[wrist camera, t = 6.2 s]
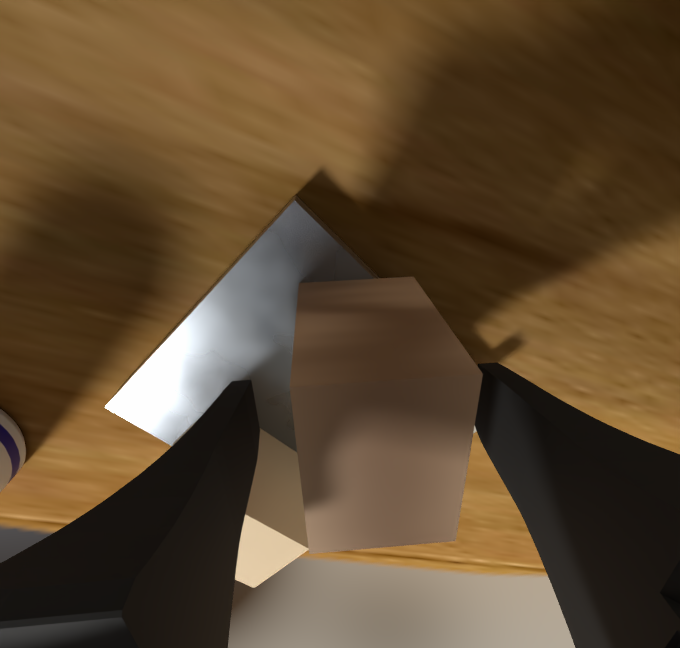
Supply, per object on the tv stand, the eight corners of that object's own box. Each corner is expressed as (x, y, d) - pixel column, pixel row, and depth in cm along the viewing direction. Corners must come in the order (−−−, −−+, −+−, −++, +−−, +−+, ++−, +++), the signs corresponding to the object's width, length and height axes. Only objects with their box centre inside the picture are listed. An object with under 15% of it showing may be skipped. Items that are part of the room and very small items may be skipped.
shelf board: (118, 389, 16) (88, 428, 14) (295, 194, 13) (292, 206, 11) (309, 504, 20) (309, 548, 18) (479, 376, 17) (503, 411, 15)
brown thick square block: (310, 412, 16) (309, 558, 10) (298, 283, 13) (289, 387, 8) (406, 405, 16) (454, 545, 10) (413, 276, 13) (482, 374, 8)
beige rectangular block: (173, 442, 16) (133, 532, 12) (218, 400, 15) (188, 483, 11) (269, 497, 18) (258, 589, 14) (312, 463, 17) (313, 551, 13)
